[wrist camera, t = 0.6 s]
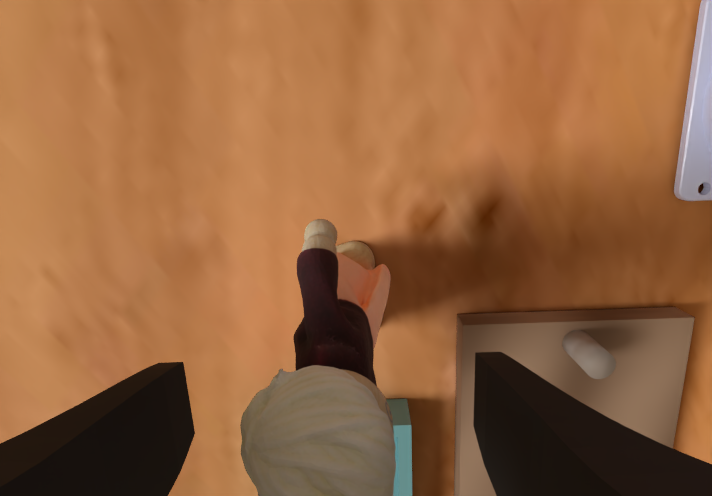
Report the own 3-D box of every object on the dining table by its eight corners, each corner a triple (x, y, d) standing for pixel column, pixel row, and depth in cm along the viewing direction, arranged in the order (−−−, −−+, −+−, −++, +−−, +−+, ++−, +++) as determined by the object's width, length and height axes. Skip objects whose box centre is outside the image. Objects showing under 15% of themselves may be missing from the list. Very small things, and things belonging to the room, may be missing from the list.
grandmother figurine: (411, 339, 20) (484, 648, 8) (334, 360, 21) (292, 687, 8) (363, 184, 19) (365, 278, 6) (280, 210, 19) (126, 347, 7)
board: (675, 306, 20) (733, 338, 17) (638, 547, 23) (680, 610, 20) (457, 314, 20) (474, 346, 17) (453, 550, 23) (466, 614, 20)
